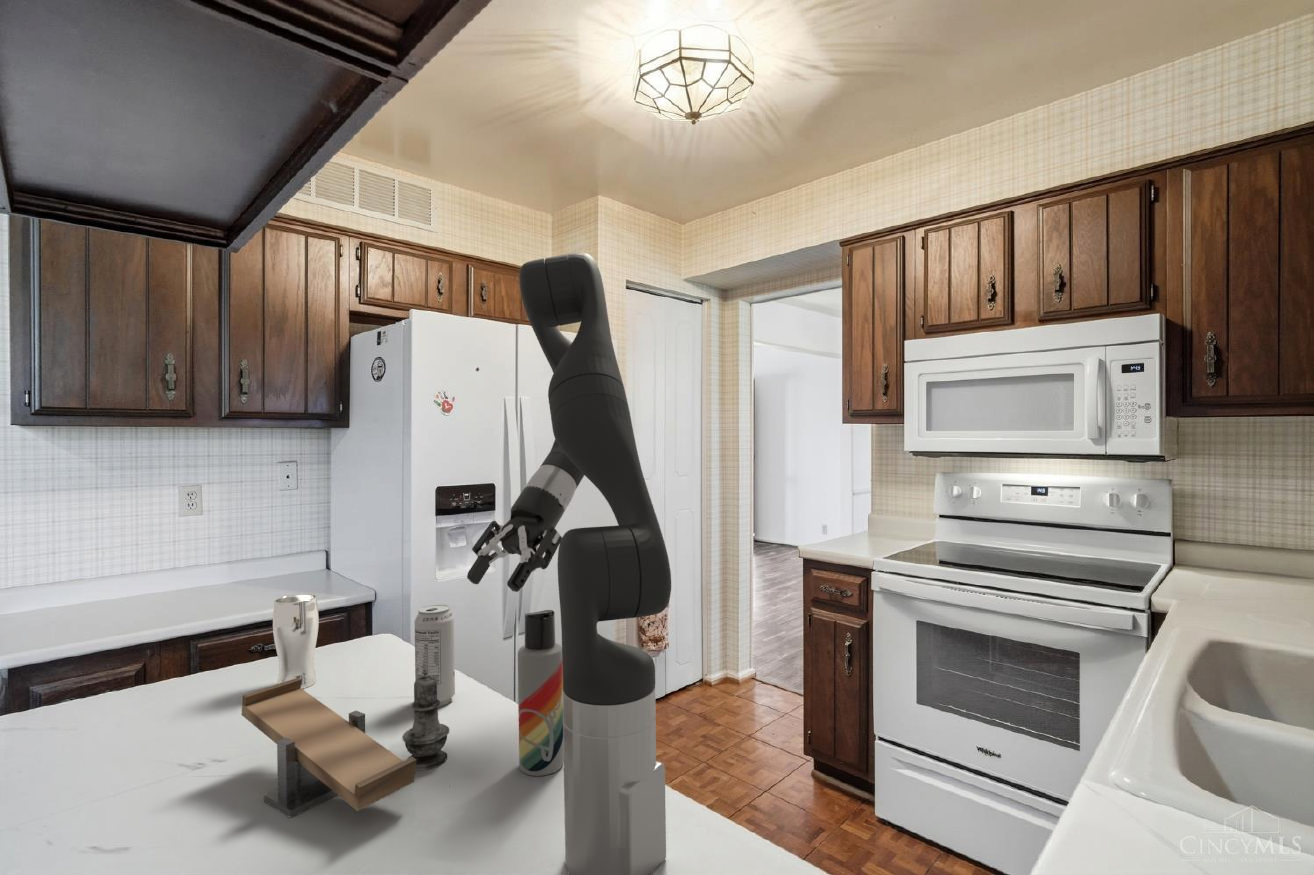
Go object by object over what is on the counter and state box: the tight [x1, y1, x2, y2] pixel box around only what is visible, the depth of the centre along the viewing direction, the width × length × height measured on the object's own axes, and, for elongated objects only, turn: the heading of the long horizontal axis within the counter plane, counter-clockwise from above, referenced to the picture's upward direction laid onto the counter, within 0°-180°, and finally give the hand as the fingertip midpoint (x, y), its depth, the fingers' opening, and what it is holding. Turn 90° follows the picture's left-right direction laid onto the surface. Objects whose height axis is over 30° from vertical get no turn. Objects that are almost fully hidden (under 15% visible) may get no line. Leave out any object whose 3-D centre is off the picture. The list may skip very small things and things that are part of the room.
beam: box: [241, 678, 417, 812], centre depth 79 cm, size 26×7×3 cm, turn 57°
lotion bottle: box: [517, 609, 564, 777], centre depth 83 cm, size 6×6×20 cm
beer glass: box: [272, 593, 320, 690], centre depth 113 cm, size 7×7×15 cm
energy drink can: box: [414, 604, 456, 708], centre depth 104 cm, size 6×6×15 cm
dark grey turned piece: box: [401, 669, 451, 771], centre depth 85 cm, size 6×6×12 cm
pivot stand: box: [263, 710, 366, 818], centre depth 79 cm, size 6×11×7 cm, turn 147°
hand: (491, 584), depth 95 cm, fingers open, 8 cm apart
